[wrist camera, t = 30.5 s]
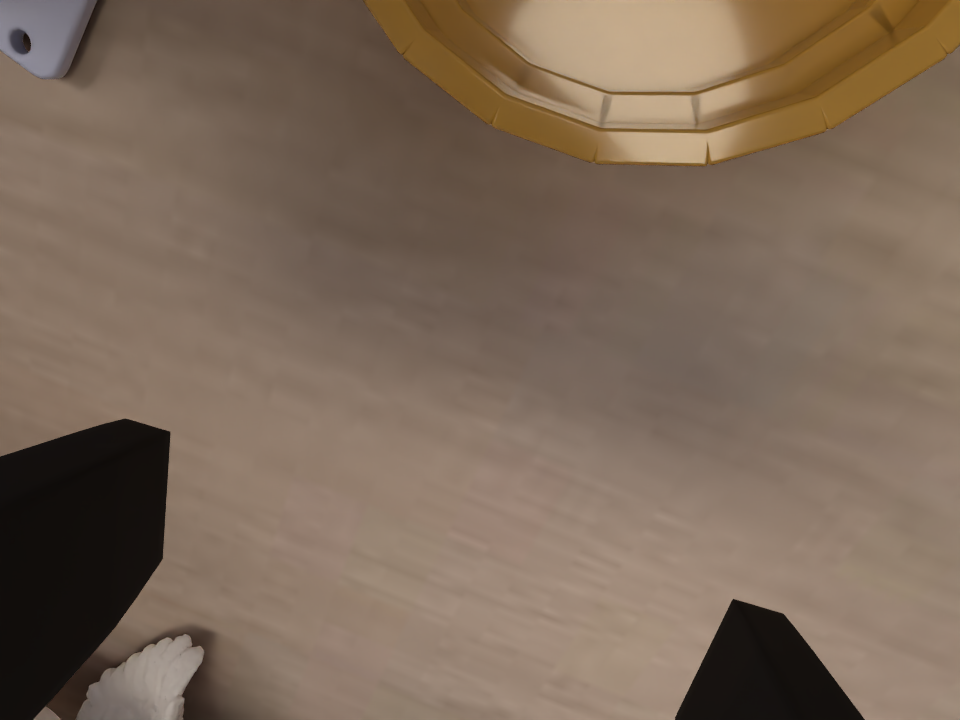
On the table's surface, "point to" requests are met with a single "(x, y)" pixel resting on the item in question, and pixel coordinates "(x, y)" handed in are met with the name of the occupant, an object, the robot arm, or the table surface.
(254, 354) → the table surface
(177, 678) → the angel figurine
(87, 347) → the table surface
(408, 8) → the bowl
